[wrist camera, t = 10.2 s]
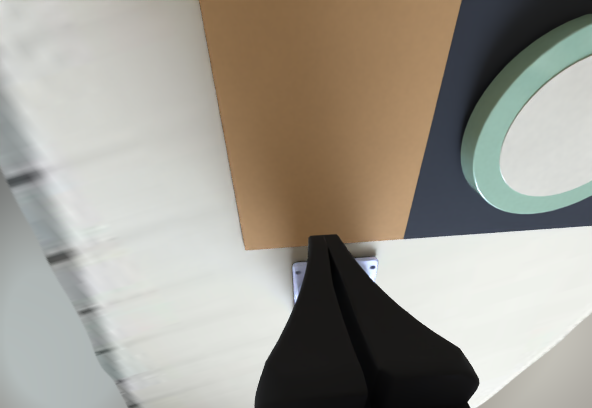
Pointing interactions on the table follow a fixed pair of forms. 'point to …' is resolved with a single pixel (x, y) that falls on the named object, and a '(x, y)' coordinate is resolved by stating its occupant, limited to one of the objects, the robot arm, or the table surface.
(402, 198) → the desk mat
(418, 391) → the robot arm
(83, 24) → the table surface
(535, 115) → the plate
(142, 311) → the table surface
